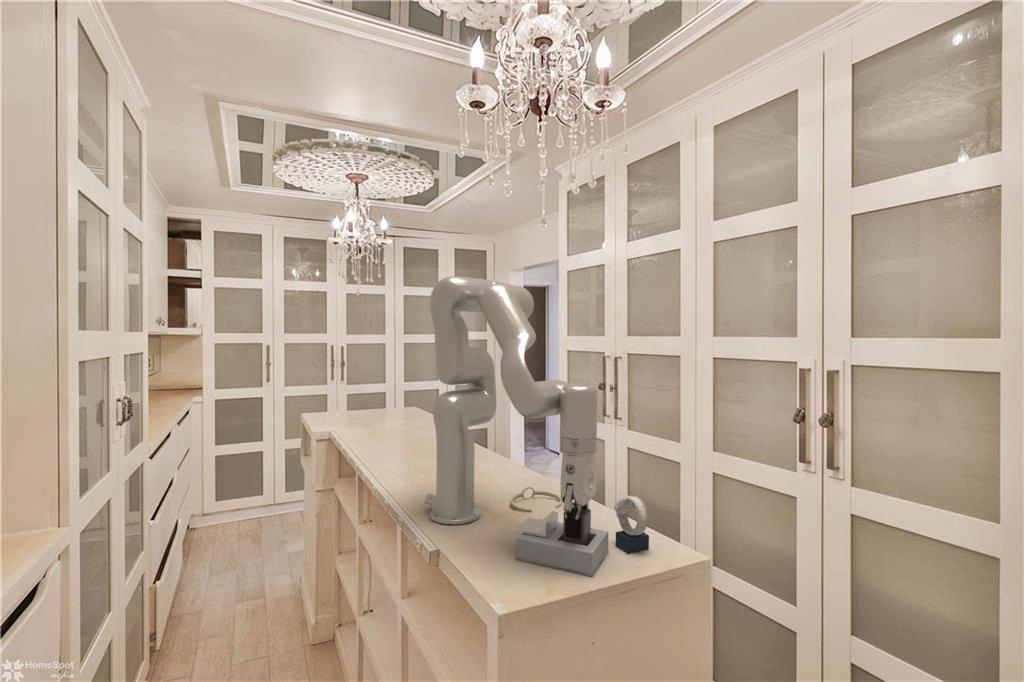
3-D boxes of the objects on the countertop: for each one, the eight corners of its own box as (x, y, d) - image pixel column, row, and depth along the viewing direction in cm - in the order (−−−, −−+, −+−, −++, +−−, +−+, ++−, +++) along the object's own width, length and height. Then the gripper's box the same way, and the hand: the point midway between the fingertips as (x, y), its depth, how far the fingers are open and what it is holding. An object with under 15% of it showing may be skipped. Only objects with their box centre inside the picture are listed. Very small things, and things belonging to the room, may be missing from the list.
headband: (519, 506, 128) (504, 489, 137) (518, 520, 129) (503, 502, 138) (569, 499, 135) (551, 483, 144) (567, 512, 135) (550, 496, 144)
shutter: (514, 531, 105) (514, 517, 105) (527, 520, 112) (528, 506, 112) (545, 537, 102) (546, 522, 102) (557, 525, 109) (557, 511, 109)
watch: (630, 538, 114) (631, 490, 114) (654, 553, 107) (654, 501, 106) (610, 542, 112) (610, 493, 111) (632, 557, 104) (633, 504, 104)
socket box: (516, 560, 103) (516, 538, 103) (538, 538, 114) (538, 518, 113) (592, 576, 96) (592, 553, 96) (608, 552, 107) (608, 531, 107)
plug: (563, 552, 102) (563, 505, 102) (570, 544, 106) (570, 498, 106) (584, 557, 100) (584, 508, 100) (590, 548, 104) (590, 501, 104)
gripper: (583, 455, 94) (582, 552, 94) (606, 438, 109) (605, 522, 109) (546, 451, 97) (544, 545, 97) (573, 435, 112) (572, 516, 113)
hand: (576, 532), depth 103 cm, fingers closed on plug, 4 cm apart
